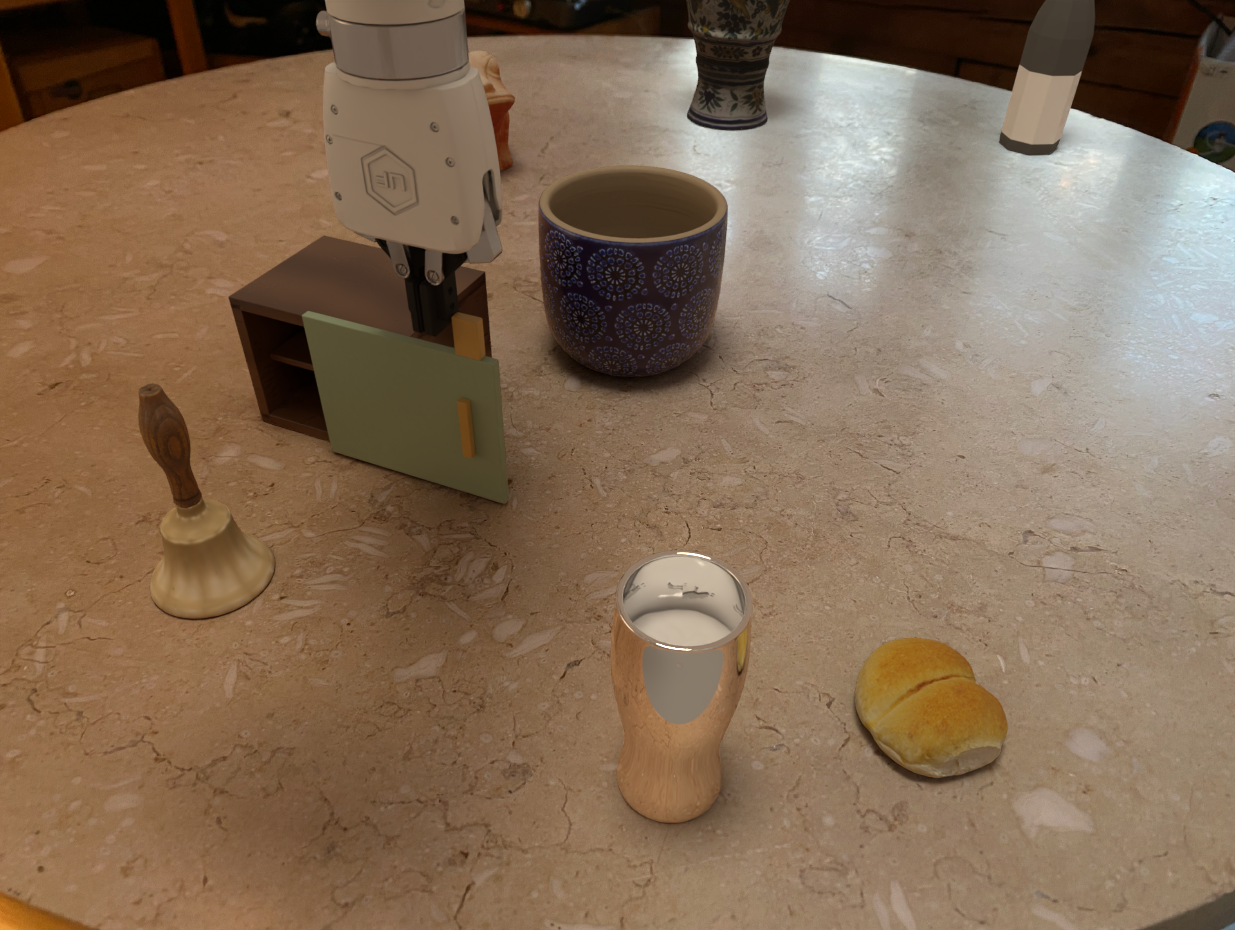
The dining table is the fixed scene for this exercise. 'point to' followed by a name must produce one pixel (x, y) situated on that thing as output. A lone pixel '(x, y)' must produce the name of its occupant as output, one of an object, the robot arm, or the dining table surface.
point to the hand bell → (197, 528)
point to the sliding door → (413, 402)
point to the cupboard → (335, 287)
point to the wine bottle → (1048, 76)
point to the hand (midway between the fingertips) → (435, 324)
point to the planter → (631, 266)
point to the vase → (732, 60)
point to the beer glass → (677, 678)
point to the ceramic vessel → (495, 102)
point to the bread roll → (929, 708)
